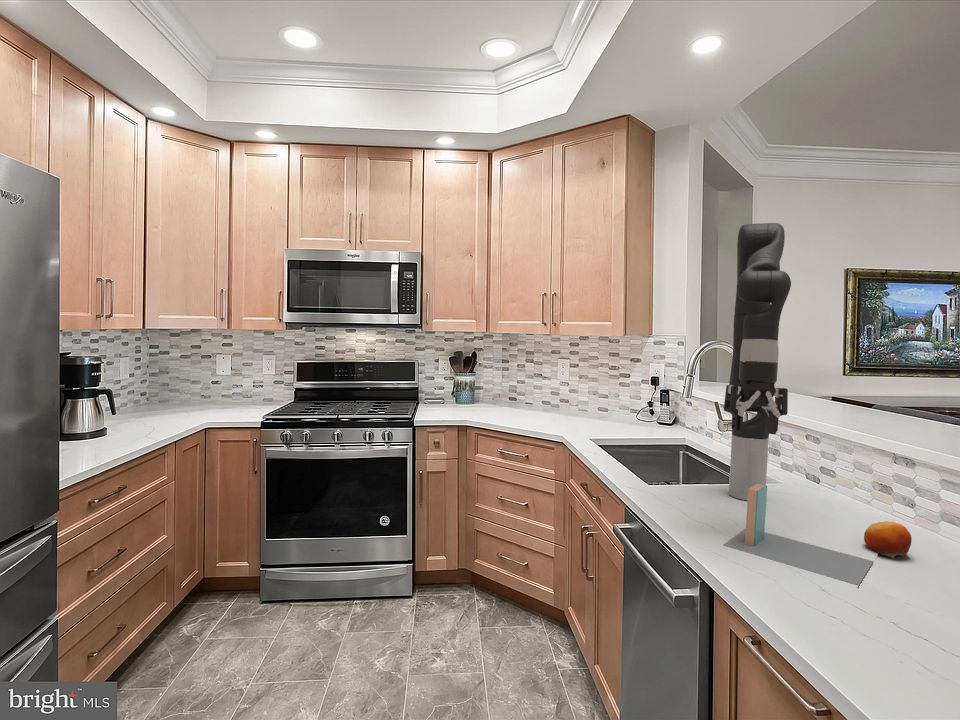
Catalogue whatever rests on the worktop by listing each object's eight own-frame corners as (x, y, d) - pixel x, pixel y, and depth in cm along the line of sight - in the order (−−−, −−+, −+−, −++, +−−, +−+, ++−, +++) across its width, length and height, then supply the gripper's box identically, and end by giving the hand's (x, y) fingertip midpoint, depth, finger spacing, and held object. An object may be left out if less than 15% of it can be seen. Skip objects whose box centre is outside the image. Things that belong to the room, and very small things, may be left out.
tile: (754, 536, 119) (757, 483, 118) (764, 538, 117) (767, 485, 117) (745, 543, 115) (748, 488, 114) (754, 546, 113) (758, 491, 112)
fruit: (901, 560, 106) (883, 519, 110) (867, 565, 113) (851, 526, 117) (931, 556, 108) (912, 516, 112) (895, 561, 115) (879, 523, 119)
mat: (747, 530, 124) (747, 527, 124) (873, 564, 107) (873, 561, 107) (722, 547, 114) (722, 545, 114) (858, 588, 97) (858, 585, 97)
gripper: (774, 362, 123) (769, 432, 123) (719, 358, 120) (715, 429, 120) (799, 362, 116) (795, 437, 116) (741, 358, 113) (737, 434, 113)
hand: (754, 433), depth 118 cm, fingers open, 8 cm apart
